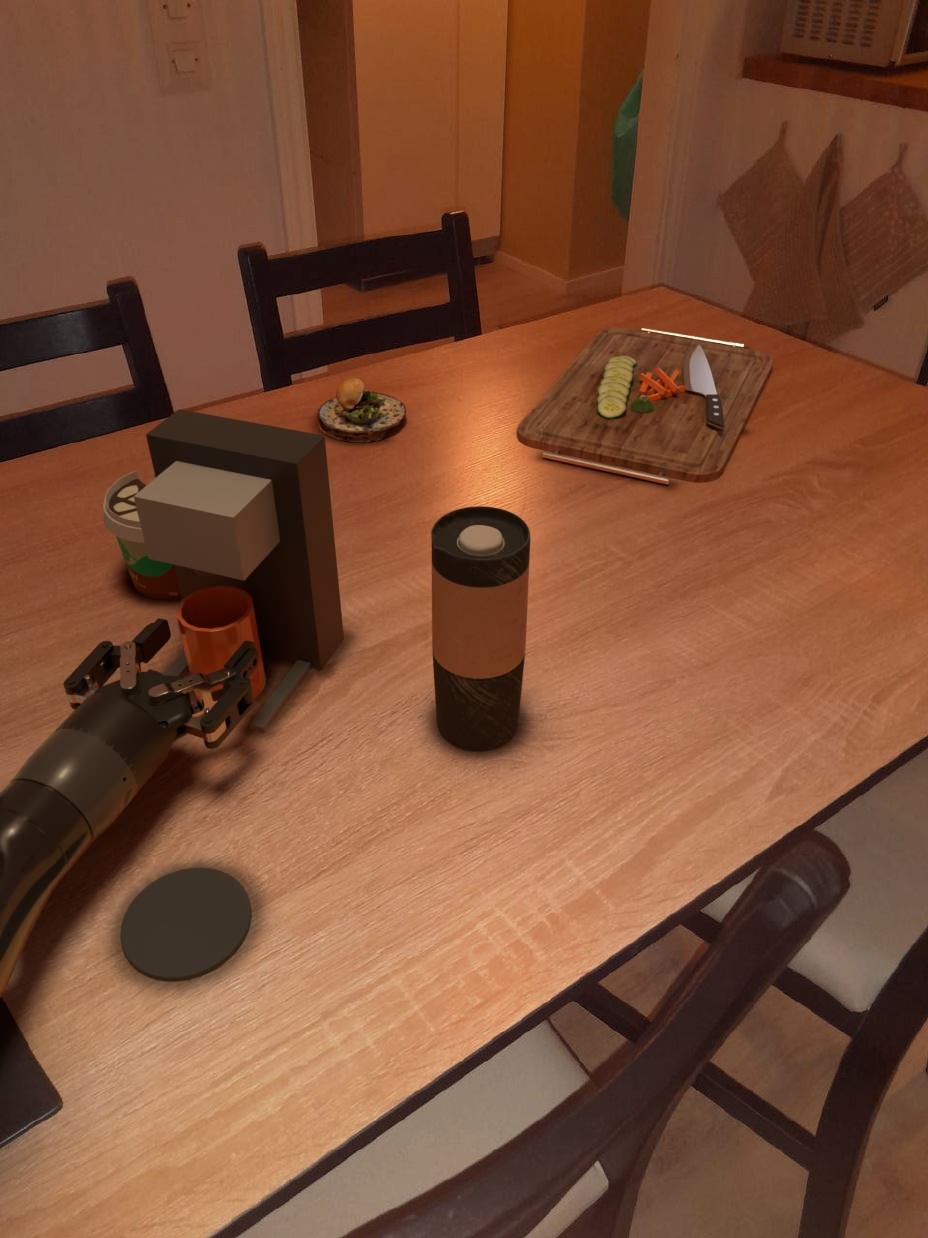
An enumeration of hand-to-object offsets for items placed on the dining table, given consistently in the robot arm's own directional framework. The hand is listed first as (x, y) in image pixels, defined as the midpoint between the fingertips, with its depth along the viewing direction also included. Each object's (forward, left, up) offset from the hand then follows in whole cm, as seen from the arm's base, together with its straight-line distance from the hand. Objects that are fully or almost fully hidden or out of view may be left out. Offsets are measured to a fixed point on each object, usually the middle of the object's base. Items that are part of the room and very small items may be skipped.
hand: (208, 637), depth 83 cm
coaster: (+14, -19, -7) cm, 25 cm away
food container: (-17, +10, -7) cm, 21 cm away
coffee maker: (-1, +4, -7) cm, 8 cm away
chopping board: (+12, +77, -7) cm, 78 cm away
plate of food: (-19, +51, -7) cm, 55 cm away
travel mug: (+22, +9, -7) cm, 24 cm away
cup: (0, +2, -7) cm, 7 cm away
